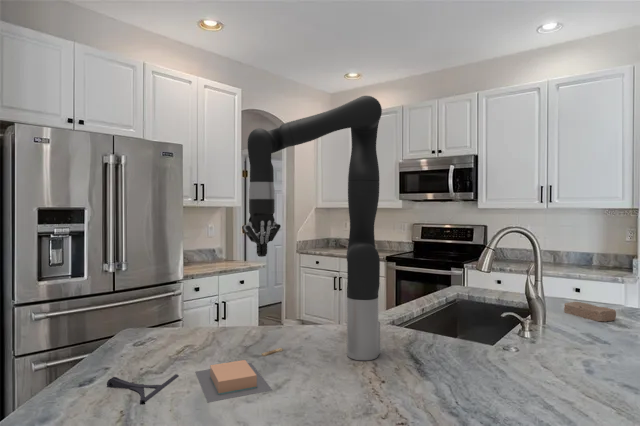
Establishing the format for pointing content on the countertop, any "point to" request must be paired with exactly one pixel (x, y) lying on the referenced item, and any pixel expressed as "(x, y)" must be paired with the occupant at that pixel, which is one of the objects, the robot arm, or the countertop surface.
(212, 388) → the mat
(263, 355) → the turner
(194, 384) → the countertop surface
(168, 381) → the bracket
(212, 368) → the tile
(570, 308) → the brick
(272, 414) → the countertop surface
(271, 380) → the countertop surface
